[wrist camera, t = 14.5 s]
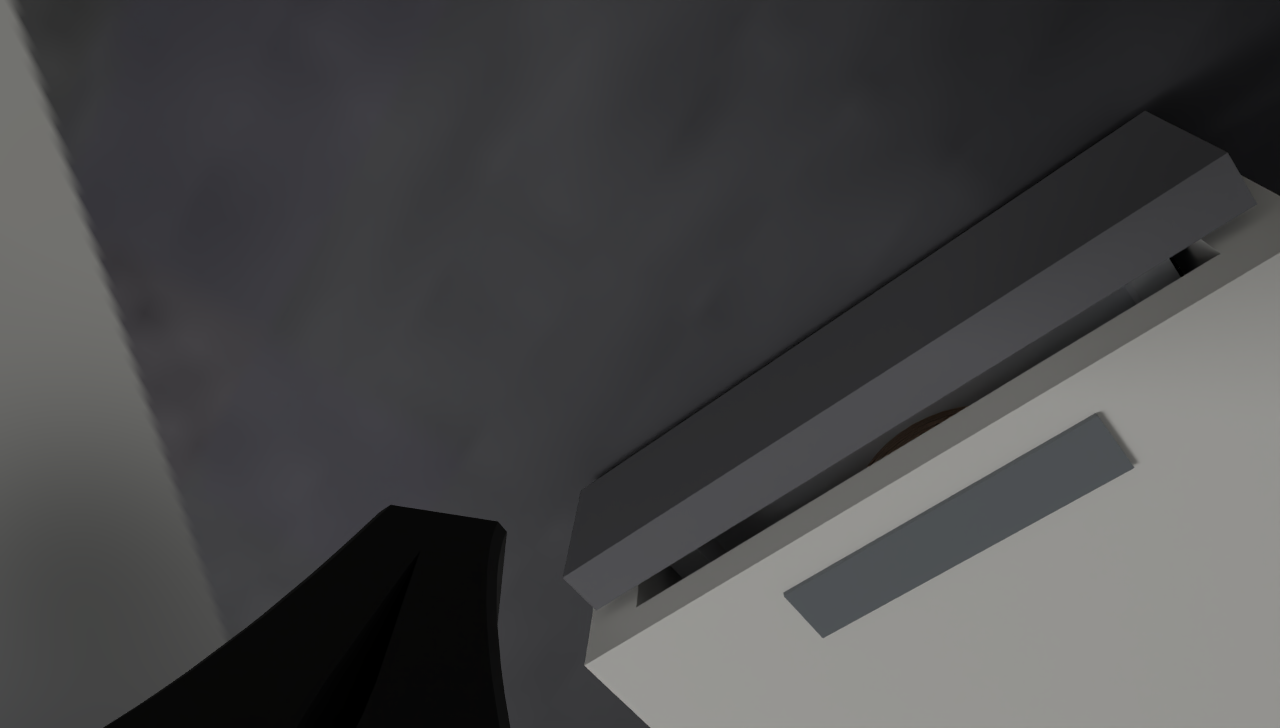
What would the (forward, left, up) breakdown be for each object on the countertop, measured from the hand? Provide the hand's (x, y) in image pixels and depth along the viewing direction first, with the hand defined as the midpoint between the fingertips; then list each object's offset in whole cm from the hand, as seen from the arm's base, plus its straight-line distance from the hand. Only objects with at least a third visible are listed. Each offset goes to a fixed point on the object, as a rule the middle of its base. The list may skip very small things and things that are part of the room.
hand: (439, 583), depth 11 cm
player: (-12, -4, -9) cm, 16 cm away
